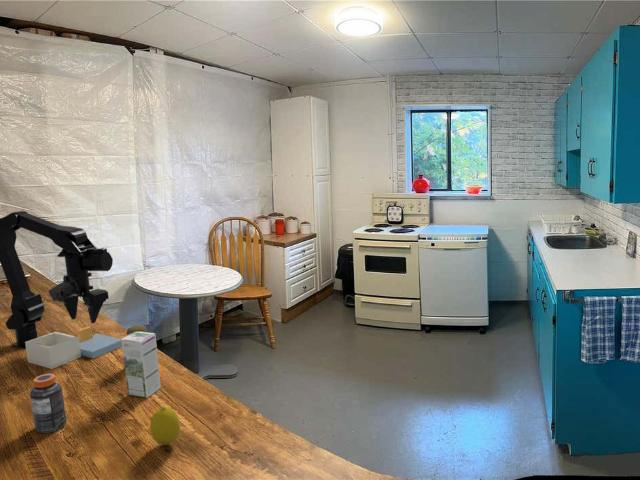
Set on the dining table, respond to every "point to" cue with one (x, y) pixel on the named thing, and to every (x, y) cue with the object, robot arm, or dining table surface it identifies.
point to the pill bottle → (47, 404)
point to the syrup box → (141, 364)
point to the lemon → (165, 425)
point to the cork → (136, 329)
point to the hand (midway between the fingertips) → (83, 321)
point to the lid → (96, 343)
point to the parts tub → (53, 349)
